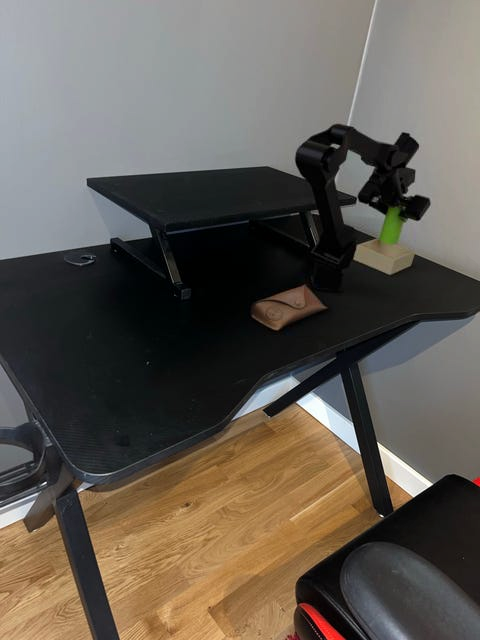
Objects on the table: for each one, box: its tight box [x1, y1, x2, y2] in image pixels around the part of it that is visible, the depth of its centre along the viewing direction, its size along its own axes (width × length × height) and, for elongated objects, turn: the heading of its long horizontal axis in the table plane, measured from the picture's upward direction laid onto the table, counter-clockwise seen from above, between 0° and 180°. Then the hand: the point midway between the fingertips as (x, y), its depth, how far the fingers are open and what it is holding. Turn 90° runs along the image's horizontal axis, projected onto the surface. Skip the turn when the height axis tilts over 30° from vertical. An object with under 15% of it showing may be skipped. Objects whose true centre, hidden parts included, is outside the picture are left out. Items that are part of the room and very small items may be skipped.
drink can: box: [378, 205, 405, 245], centre depth 127 cm, size 5×5×12 cm
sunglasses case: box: [250, 283, 328, 331], centre depth 101 cm, size 18×7×7 cm
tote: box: [353, 237, 416, 276], centre depth 133 cm, size 12×12×4 cm
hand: (397, 218), depth 128 cm, fingers closed on drink can, 5 cm apart
